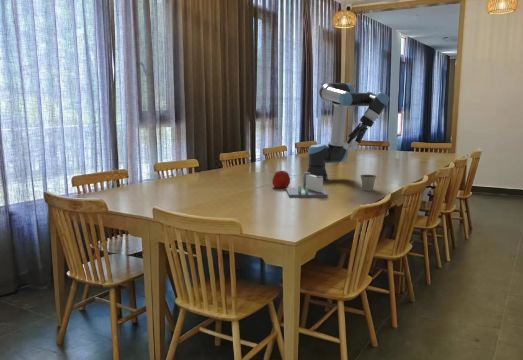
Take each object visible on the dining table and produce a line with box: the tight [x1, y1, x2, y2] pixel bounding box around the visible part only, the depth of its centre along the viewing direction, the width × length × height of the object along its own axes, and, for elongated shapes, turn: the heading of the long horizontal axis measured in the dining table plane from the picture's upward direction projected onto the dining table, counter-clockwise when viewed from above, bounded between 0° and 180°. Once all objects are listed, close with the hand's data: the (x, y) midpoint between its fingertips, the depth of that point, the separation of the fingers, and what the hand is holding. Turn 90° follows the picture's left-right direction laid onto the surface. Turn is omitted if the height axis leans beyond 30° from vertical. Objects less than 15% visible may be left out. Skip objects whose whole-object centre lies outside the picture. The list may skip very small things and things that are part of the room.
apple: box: [272, 170, 291, 189], centre depth 274 cm, size 11×11×11 cm
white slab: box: [302, 171, 324, 192], centre depth 257 cm, size 16×4×9 cm, turn 27°
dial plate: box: [285, 185, 328, 198], centre depth 256 cm, size 22×21×6 cm
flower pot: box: [359, 174, 377, 192], centre depth 267 cm, size 9×9×9 cm
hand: (347, 149), depth 257 cm, fingers open, 13 cm apart
